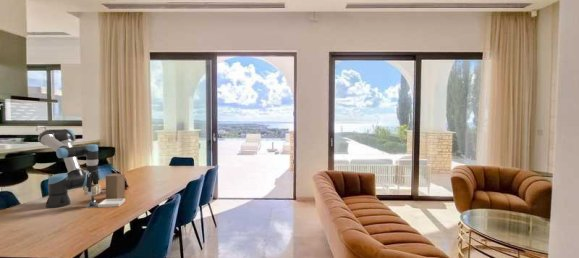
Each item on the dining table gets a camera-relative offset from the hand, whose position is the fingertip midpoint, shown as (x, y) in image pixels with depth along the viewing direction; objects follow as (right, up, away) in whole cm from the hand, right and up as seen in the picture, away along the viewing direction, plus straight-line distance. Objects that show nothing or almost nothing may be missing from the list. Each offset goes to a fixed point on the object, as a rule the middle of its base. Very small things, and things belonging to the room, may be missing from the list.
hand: (92, 194), depth 234 cm
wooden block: (+5, -8, +21) cm, 23 cm away
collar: (0, +1, 0) cm, 1 cm away
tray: (+12, -9, +5) cm, 16 cm away
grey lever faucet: (0, -9, 0) cm, 9 cm away
